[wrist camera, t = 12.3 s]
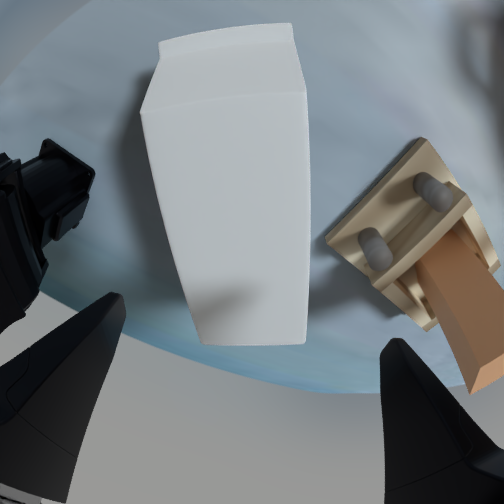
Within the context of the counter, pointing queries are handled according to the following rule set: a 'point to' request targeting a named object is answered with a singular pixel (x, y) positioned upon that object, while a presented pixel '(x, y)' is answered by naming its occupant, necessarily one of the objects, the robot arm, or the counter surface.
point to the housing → (409, 228)
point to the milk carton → (234, 179)
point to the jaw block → (465, 308)
